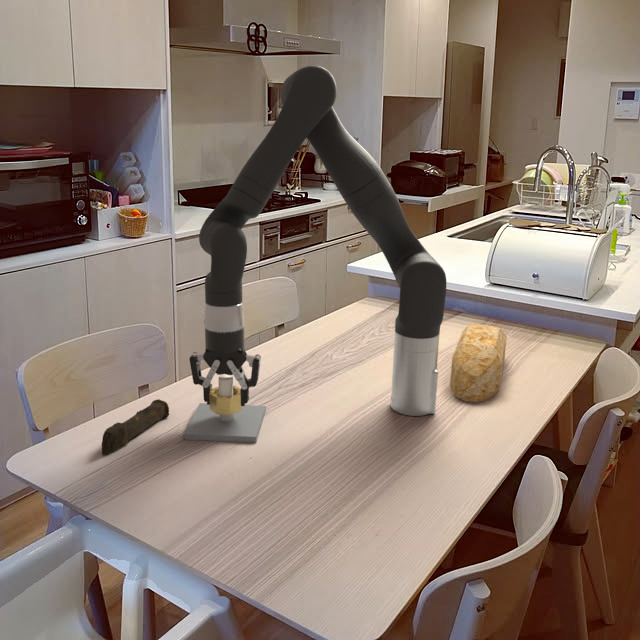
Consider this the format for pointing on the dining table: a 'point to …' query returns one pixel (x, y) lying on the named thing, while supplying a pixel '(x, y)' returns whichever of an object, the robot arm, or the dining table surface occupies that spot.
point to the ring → (225, 402)
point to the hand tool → (133, 426)
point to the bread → (478, 363)
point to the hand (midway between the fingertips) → (226, 403)
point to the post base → (226, 430)
